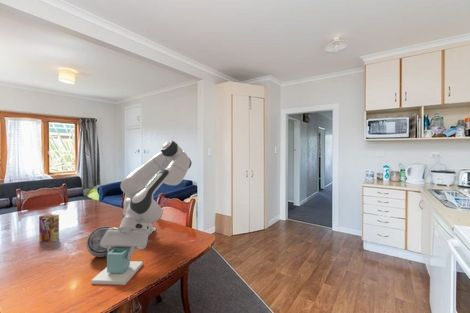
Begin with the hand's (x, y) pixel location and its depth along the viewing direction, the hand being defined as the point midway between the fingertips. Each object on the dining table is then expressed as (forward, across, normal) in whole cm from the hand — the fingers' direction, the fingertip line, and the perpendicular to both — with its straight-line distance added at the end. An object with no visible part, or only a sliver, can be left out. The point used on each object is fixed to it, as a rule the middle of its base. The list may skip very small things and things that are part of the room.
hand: (118, 258), depth 97 cm
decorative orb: (-7, -17, +17) cm, 25 cm away
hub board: (+5, 0, +6) cm, 7 cm away
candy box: (-19, -61, +29) cm, 70 cm away
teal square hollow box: (+3, 0, +4) cm, 5 cm away
